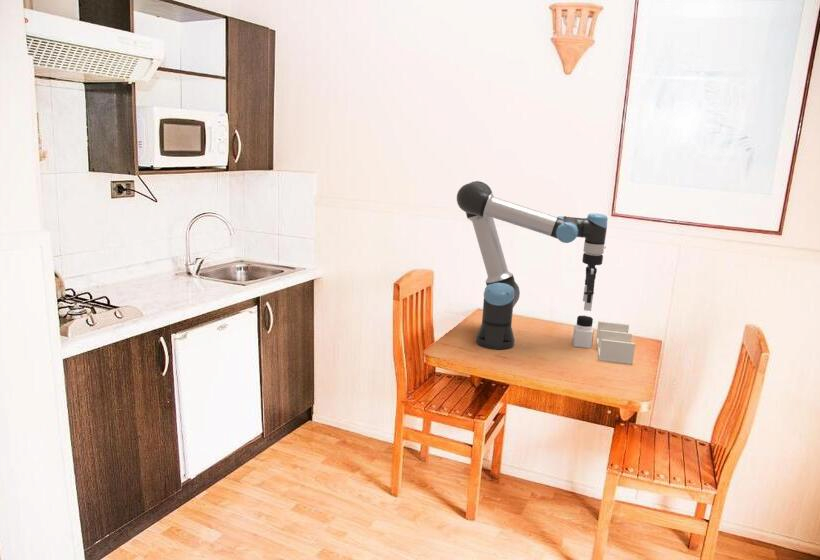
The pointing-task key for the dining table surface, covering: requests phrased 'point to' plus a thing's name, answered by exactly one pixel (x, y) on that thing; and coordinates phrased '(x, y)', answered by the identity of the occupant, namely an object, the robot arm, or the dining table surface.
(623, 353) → the rack
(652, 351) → the dining table surface
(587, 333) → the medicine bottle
